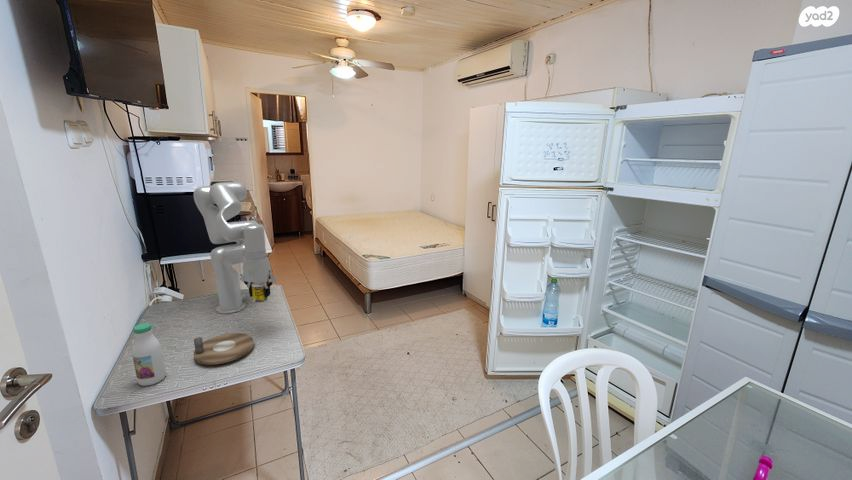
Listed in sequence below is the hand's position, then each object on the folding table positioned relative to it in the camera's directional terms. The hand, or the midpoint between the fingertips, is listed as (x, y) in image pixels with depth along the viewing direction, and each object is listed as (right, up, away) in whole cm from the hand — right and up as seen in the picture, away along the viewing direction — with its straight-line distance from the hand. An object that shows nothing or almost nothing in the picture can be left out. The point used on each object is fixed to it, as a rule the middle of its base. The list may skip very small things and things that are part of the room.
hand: (260, 295), depth 147 cm
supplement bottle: (0, -3, +1) cm, 3 cm away
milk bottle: (-24, -24, -27) cm, 44 cm away
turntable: (-8, -19, -11) cm, 24 cm away
